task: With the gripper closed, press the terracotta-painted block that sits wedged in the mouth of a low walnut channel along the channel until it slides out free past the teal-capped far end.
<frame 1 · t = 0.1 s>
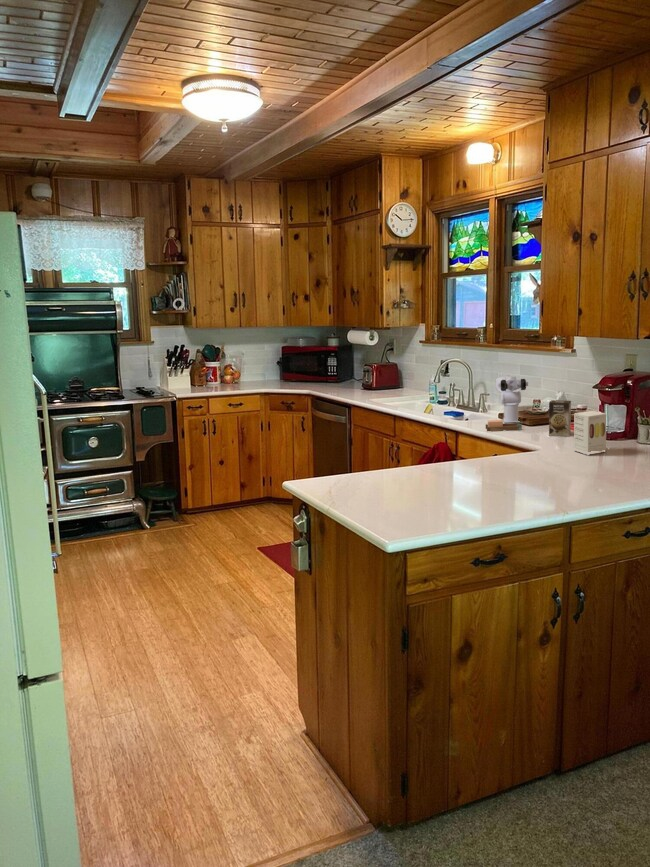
hand: (514, 386, 343), 22 cm above the counter, tool horizontal, fingers open, 7 cm apart
walnut chute: (503, 429, 350), on the counter
grey rectangular box: (559, 435, 329), on the counter
supplement box: (589, 452, 295), on the counter
jammed block: (495, 429, 350), on the counter
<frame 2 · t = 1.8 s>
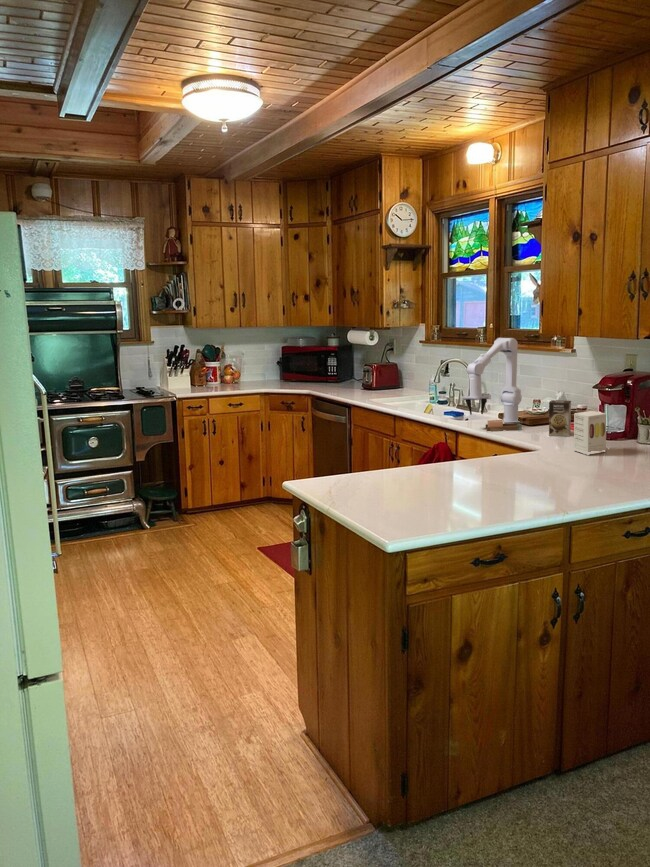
hand: (476, 414, 350), 8 cm above the counter, tool pointing down, fingers open, 5 cm apart
nothing on the counter moved.
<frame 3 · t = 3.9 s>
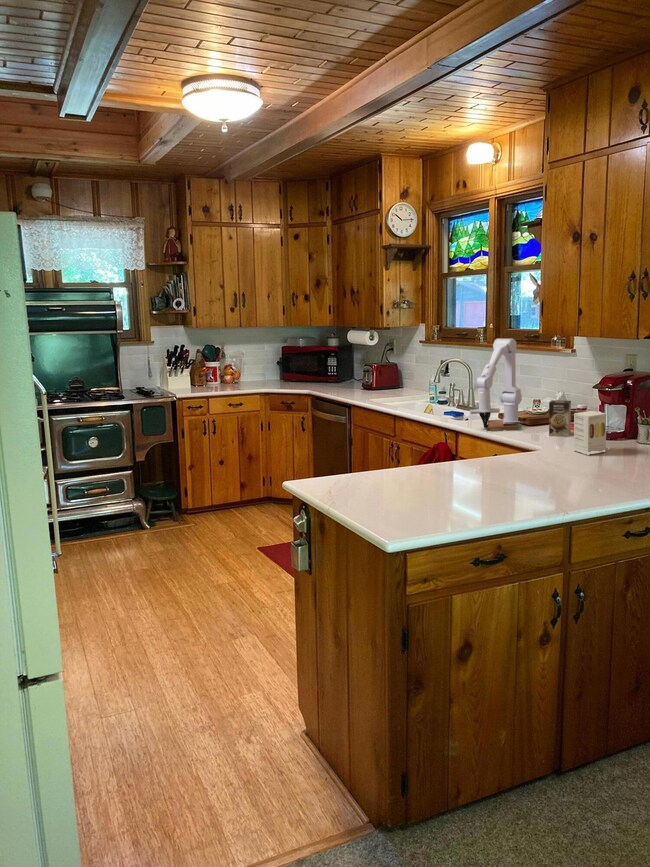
hand: (485, 427, 351), 1 cm above the counter, tool pointing down, fingers closed
jammed block: (495, 429, 350), on the counter, touching gripper
everything else where it was.
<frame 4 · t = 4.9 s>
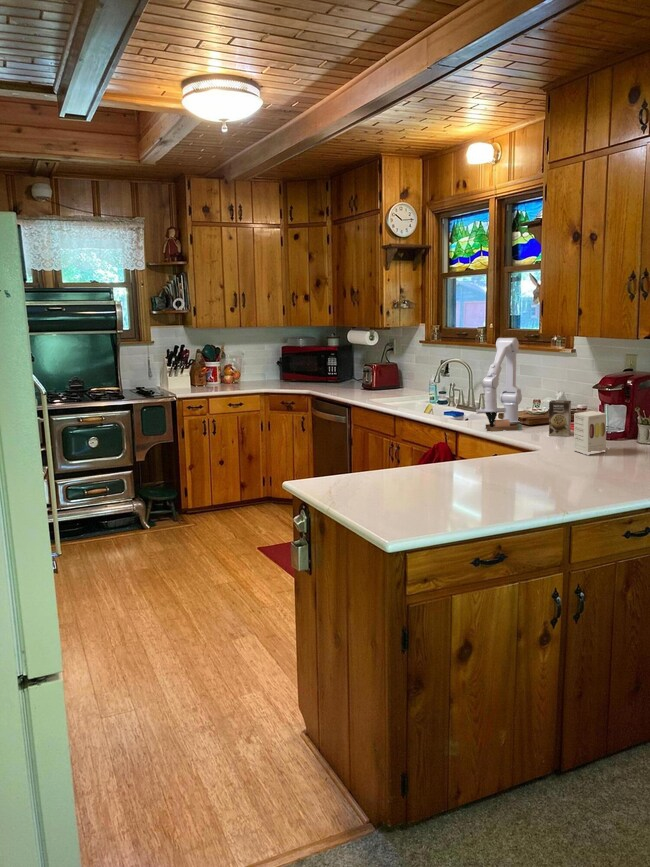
hand: (491, 427, 350), 1 cm above the counter, tool pointing down, fingers closed
jammed block: (502, 429, 350), on the counter, touching gripper
everything else where it was.
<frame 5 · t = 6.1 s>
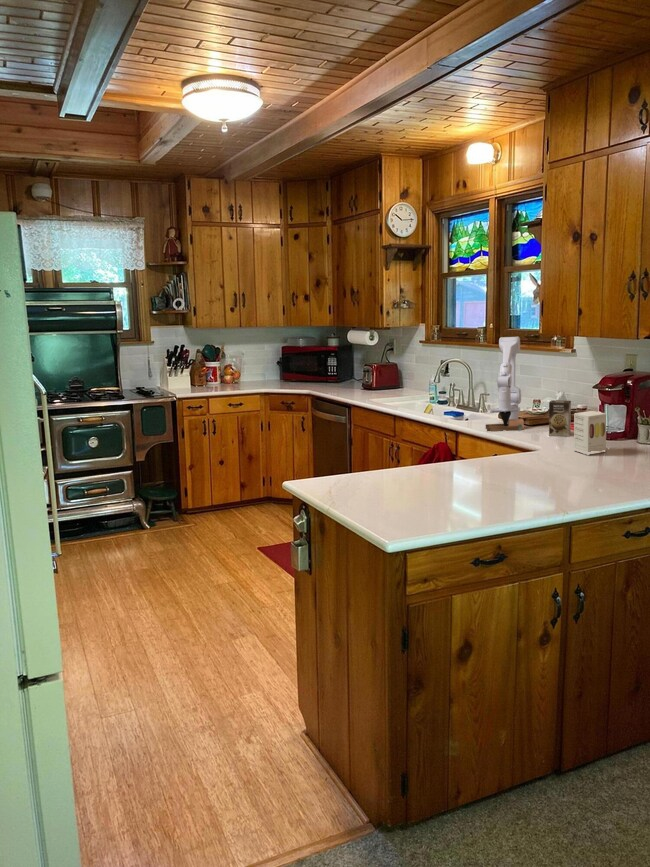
hand: (505, 426, 349), 1 cm above the counter, tool pointing down, fingers closed
jammed block: (515, 428, 349), on the counter, touching gripper
everything else where it was.
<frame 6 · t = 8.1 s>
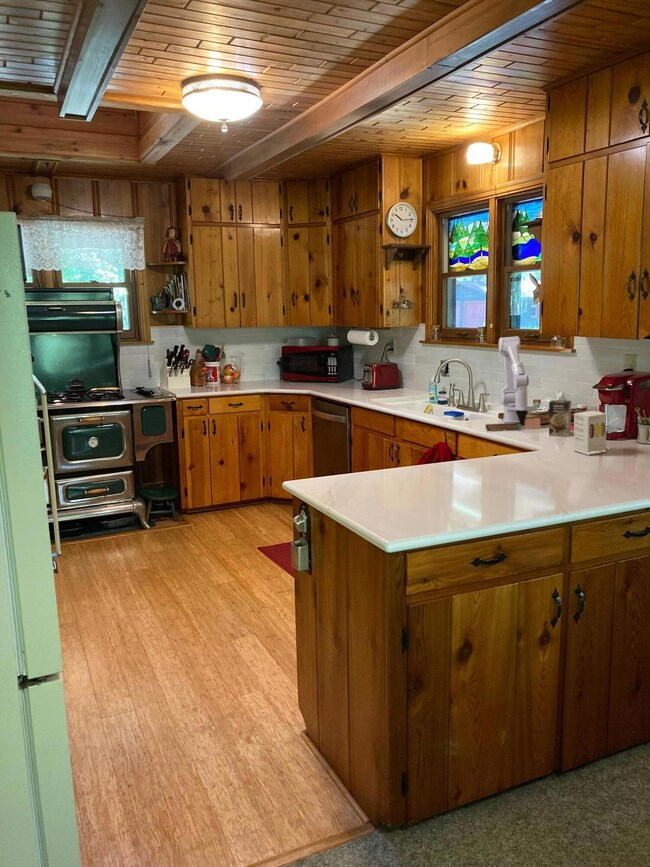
hand: (521, 425, 348), 1 cm above the counter, tool pointing down, fingers closed
jammed block: (532, 427, 347), on the counter, touching gripper
everything else where it was.
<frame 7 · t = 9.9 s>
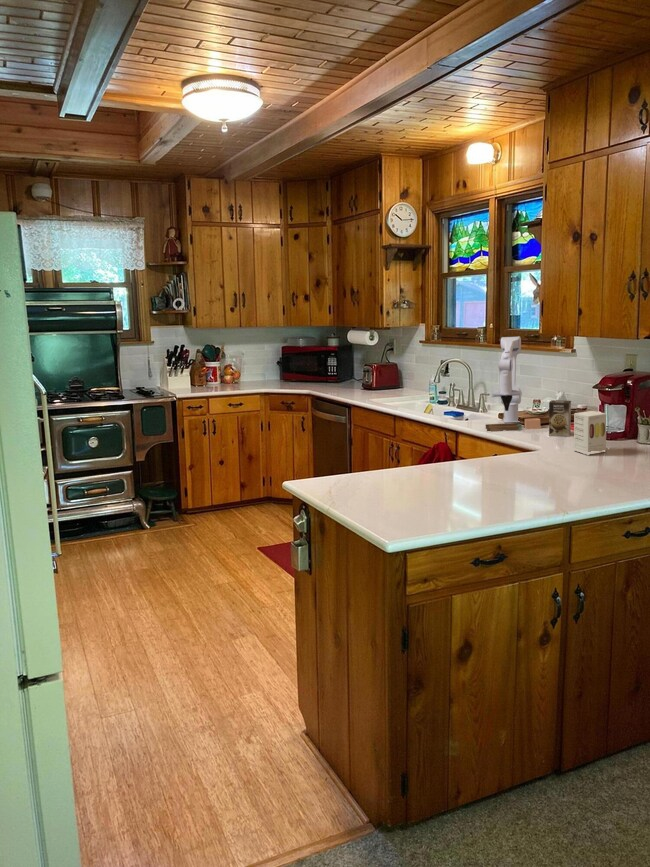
hand: (506, 410, 348), 9 cm above the counter, tool pointing down, fingers closed
jammed block: (532, 428, 347), on the counter
everything else where it was.
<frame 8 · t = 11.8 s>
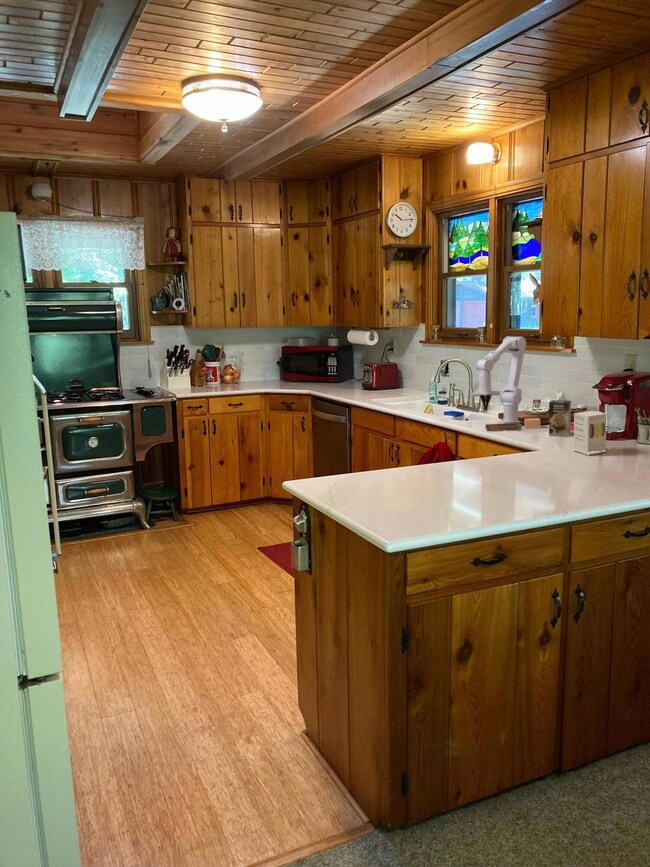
hand: (485, 410, 353), 9 cm above the counter, tool pointing down, fingers closed
nothing on the counter moved.
at the end: jammed block inside the target area (3.2 cm from its centre), on the counter; jammed block touching counter; jammed block tilted 0° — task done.
